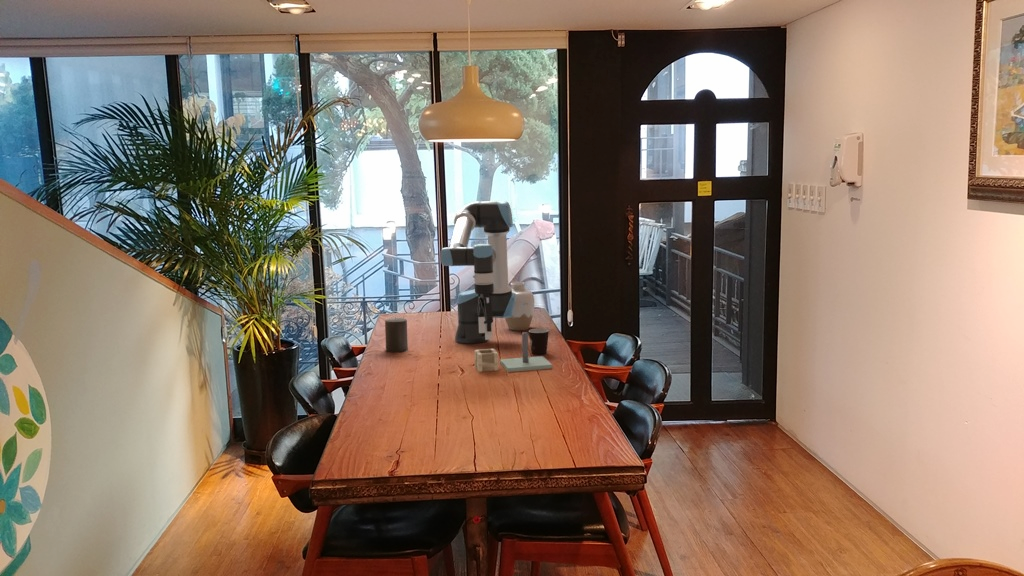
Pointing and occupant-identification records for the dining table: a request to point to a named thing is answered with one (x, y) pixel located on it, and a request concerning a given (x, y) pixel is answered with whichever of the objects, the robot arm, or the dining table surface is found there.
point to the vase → (521, 308)
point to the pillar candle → (396, 334)
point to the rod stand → (525, 360)
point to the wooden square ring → (486, 360)
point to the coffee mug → (538, 341)
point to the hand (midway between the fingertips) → (485, 336)
